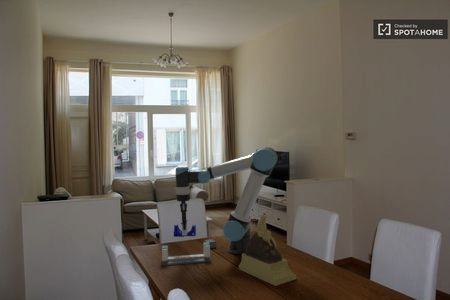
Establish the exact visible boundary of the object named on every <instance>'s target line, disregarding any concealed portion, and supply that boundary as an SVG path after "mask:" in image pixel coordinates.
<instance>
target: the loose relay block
mask: <svg viewBox="0 0 450 300" xmlns="http://www.w3.org/2000/svg"><path fill="white" fill-rule="evenodd" d="M203 241H204V242H203V243H206V242H209V244H210V250H211V249H215V248H217V241H216V240H215V239H213V238H211V239H205V240H203Z"/></svg>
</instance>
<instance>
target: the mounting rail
mask: <svg viewBox="0 0 450 300" xmlns="http://www.w3.org/2000/svg"><path fill="white" fill-rule="evenodd" d="M210 262H212V260H211V256H210V257H205V256H204V253H196V254H195V253H194V254H185V255H183V254H182V255H174V256H173V255H172V256H168V260H165V261H162V267H163V266H177V265H178V266H179V265H188V264H199V263H200V264H201V263H210Z"/></svg>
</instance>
